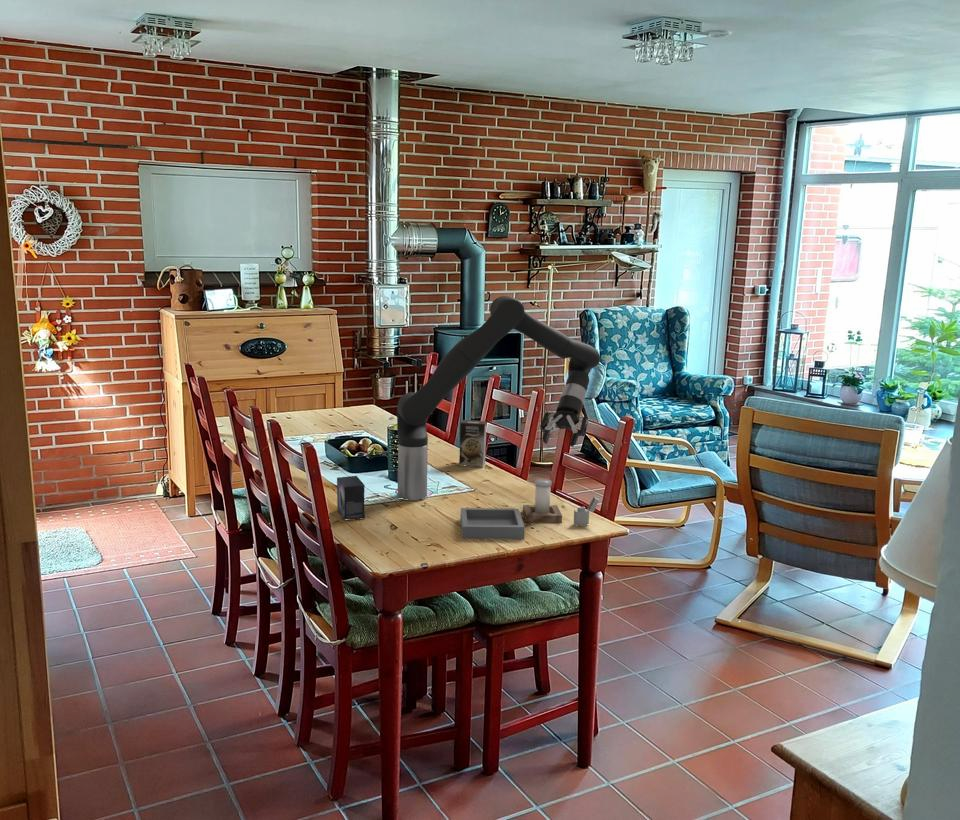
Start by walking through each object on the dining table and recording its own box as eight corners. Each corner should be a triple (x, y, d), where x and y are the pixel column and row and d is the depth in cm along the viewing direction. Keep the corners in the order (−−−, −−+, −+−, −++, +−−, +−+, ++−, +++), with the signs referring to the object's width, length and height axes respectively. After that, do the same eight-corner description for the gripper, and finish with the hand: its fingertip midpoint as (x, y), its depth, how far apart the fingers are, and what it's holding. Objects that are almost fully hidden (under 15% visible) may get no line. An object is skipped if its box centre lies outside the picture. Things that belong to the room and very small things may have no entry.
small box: (335, 510, 266) (335, 476, 264) (357, 508, 268) (357, 475, 266) (343, 521, 256) (343, 486, 254) (365, 519, 259) (365, 484, 257)
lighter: (575, 526, 257) (576, 499, 256) (573, 524, 259) (574, 497, 257) (598, 524, 259) (599, 498, 258) (595, 522, 261) (597, 496, 259)
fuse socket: (526, 521, 260) (526, 515, 259) (522, 511, 270) (523, 504, 269) (561, 522, 260) (562, 515, 260) (556, 511, 270) (557, 505, 270)
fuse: (534, 519, 263) (536, 483, 261) (533, 514, 267) (534, 478, 265) (551, 519, 263) (552, 483, 261) (548, 514, 268) (550, 478, 266)
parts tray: (462, 538, 244) (462, 526, 243) (460, 519, 260) (460, 508, 260) (524, 539, 245) (524, 527, 244) (518, 519, 261) (518, 508, 261)
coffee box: (458, 466, 321) (459, 422, 318) (461, 462, 327) (462, 419, 324) (483, 467, 320) (484, 423, 317) (485, 463, 326) (486, 420, 323)
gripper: (547, 392, 280) (533, 434, 272) (591, 396, 274) (577, 439, 266) (553, 406, 286) (539, 447, 278) (595, 410, 280) (582, 453, 272)
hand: (558, 443), depth 272 cm, fingers open, 8 cm apart
